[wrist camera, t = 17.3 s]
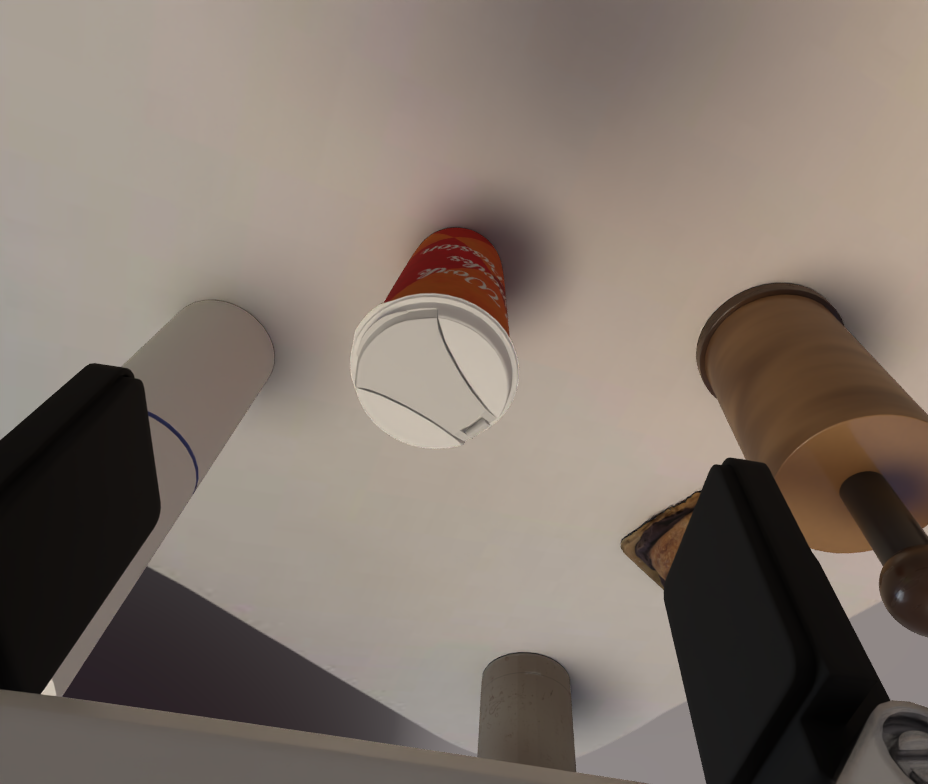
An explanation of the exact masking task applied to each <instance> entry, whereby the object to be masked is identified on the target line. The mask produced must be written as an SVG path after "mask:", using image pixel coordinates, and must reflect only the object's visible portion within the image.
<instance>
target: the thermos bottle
mask: <svg viewBox="0 0 928 784" xmlns="http://www.w3.org/2000/svg"><path fill="white" fill-rule="evenodd" d="M477 757H479V758H485V759H492V760H498V761H505V762H511V763H518V764H524V765H531V766H537V767H544V768H551V769H557V770H564V771H570V772H576V762H575V748H574V733H573V719H572V704H571V690H570V679H569V676H568V674H567V672H566V671H565V669H564V668H563V667H562V666H561V665H560V664H559V663H557V662H555V661H554V660H552V659H550V658H547V657H545V656H541V655H537V654H530V653H516V654H510V655H506V656H503V657H500V658H498V659H496V660H495V661H493V662H492V663H490V664H489V665H488V667H487V668H486V669H485V671H484V673H483V676H482V685H481V701H480V721H479V738H478V755H477Z"/></svg>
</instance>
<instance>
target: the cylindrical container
mask: <svg viewBox="0 0 928 784" xmlns="http://www.w3.org/2000/svg"><path fill="white" fill-rule="evenodd" d="M273 366H274V349H273V345H272V342H271V340H270V337H269V335H268V334H267V332H266V330H265V329H264V327H263V326H262V325H261V324H260V323H259V322H258V321H257V320H256V319H255V318H254V317H253V316H252V315H251V314H249V313H248V312H247V311H245V310H243V309H241V308H240V307H238V306H236V305H233V304H230V303H227V302H223V301H217V300H204V301H199V302H195V303H192V304H190V305H188V306H186V307H185V308H183V309H182V310H181V311H180V312H179V313H178V314H176V315H175V316H174V317H173V318H172V319H171V320H170V321H169V322H168V323H167V324H166V325H165V326H164V327H163V328H162V329H161V330H160V331H158V332H157V333H156V334H155V335H154V336H153V337H152V338H151V339H150V340H149V341H148V342H147V343H146V344H145V345H144V346H143V347H142V348H140V349H139V350H138V351H137V352H136V353H135V354H134V355H133V356H132V357H131V358H130V359H129V360H128V361H127V362H126V363H125V364H124V365H123V366H121V367H123V368H128V369H130V370H131V371H132V373H133V374H134V377H135V378H137V379H140V380H141V381H142V382H143V385H144V389H145V396H146V403H147V410H148V417H149V424H150V431H151V438H152V445H153V452H154V459H155V466H156V473H157V480H158V487H159V494H160V501H161V511H160V516H159V519H158V522H157V524H156V526H155V528H154V529H153V531H152V532H151V533H150V535H149V536H148V538H147V539H146V541H145V542H144V544H143V545H142V547H141V548H140V550H139V551H138V553H137V554H136V555H135V557H134V558H133V560H132V561H131V563H130V564H129V566H128V567H127V569H126V570H125V572H124V573H123V575H122V576H121V577H120V579H119V580H118V582H117V583H116V585H115V586H114V588H113V589H112V591H111V592H110V594H109V595H108V597H107V598H106V600H105V601H104V602H103V604H102V605H101V607H100V608H99V610H98V611H97V613H96V614H95V616H94V617H93V619H92V620H91V622H90V623H89V624H88V626H87V627H86V629H85V630H84V632H83V633H82V635H81V636H80V638H79V639H78V641H77V642H76V644H75V645H74V646H73V648H72V649H71V651H70V652H69V654H68V655H67V657H66V658H65V660H64V661H63V663H62V664H61V666H60V667H59V668H58V670H57V671H56V673H55V674H54V676H53V677H52V679H51V680H50V682H49V683H48V685H47V686H46V688H45V689H44V691H43V692H42V693H41V694H42V695H50V696H58V697H62V696H63V694H64V693H65V691H66V689H67V688H68V686H69V685H70V683H71V682H72V680H73V679H74V677H75V676H76V674H77V673H78V671H79V669H80V668H81V666H82V665H83V663H84V662H85V660H86V659H87V657H88V656H89V654H90V652H91V651H92V649H93V648H94V646H95V645H96V643H97V641H98V640H99V639H100V637H101V636H102V634H103V632H104V631H105V629H106V628H107V626H108V625H109V623H110V622H111V620H112V618H113V617H114V615H115V614H116V612H117V611H118V609H119V608H120V606H121V605H122V603H123V602H124V600H125V599H126V597H127V595H128V594H129V592H130V591H131V589H132V588H133V586H134V585H135V583H136V582H137V580H138V578H139V577H140V575H141V574H142V572H143V571H144V569H145V568H146V566H147V565H148V563H149V561H150V560H151V558H152V557H153V555H154V554H155V552H156V551H157V549H158V548H159V546H160V545H161V543H162V541H163V540H164V538H165V537H166V535H167V534H168V532H169V531H170V529H171V528H172V526H173V524H174V523H175V521H176V520H177V518H178V517H179V515H180V514H181V512H182V511H183V509H184V508H185V506H186V504H187V503H188V501H189V500H190V498H191V497H192V495H193V494H194V492H195V491H196V489H197V487H198V486H199V484H200V483H201V481H202V480H203V478H204V477H205V475H206V474H207V472H208V471H209V469H210V467H211V466H212V464H213V463H214V461H215V460H216V458H217V457H218V455H219V454H220V452H221V451H222V449H223V447H224V446H225V444H226V443H227V441H228V440H229V438H230V437H231V435H232V434H233V432H234V430H235V429H236V427H237V426H238V424H239V423H240V421H241V420H242V418H243V417H244V415H245V413H246V412H247V410H248V409H249V407H250V406H251V404H252V403H253V401H254V400H255V398H256V397H257V395H258V393H259V392H260V390H261V389H262V387H263V386H264V384H265V383H266V381H267V380H268V378H269V376H270V374H271V372H272V370H273Z"/></svg>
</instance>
